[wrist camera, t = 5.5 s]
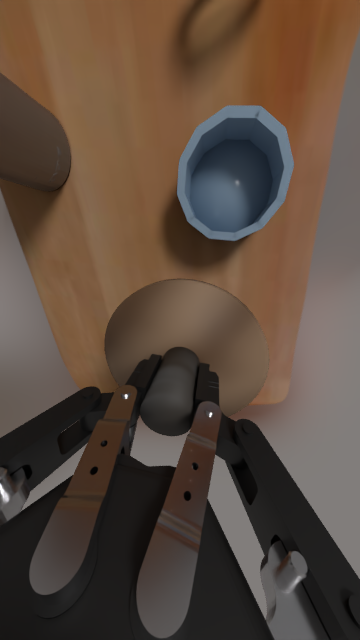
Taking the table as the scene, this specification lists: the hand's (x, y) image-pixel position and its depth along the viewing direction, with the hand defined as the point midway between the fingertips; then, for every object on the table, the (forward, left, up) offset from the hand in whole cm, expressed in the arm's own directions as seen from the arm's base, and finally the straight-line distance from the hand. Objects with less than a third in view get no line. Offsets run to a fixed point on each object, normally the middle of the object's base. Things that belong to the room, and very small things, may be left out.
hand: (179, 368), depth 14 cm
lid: (0, 0, -2) cm, 2 cm away
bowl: (-6, +14, -17) cm, 23 cm away
